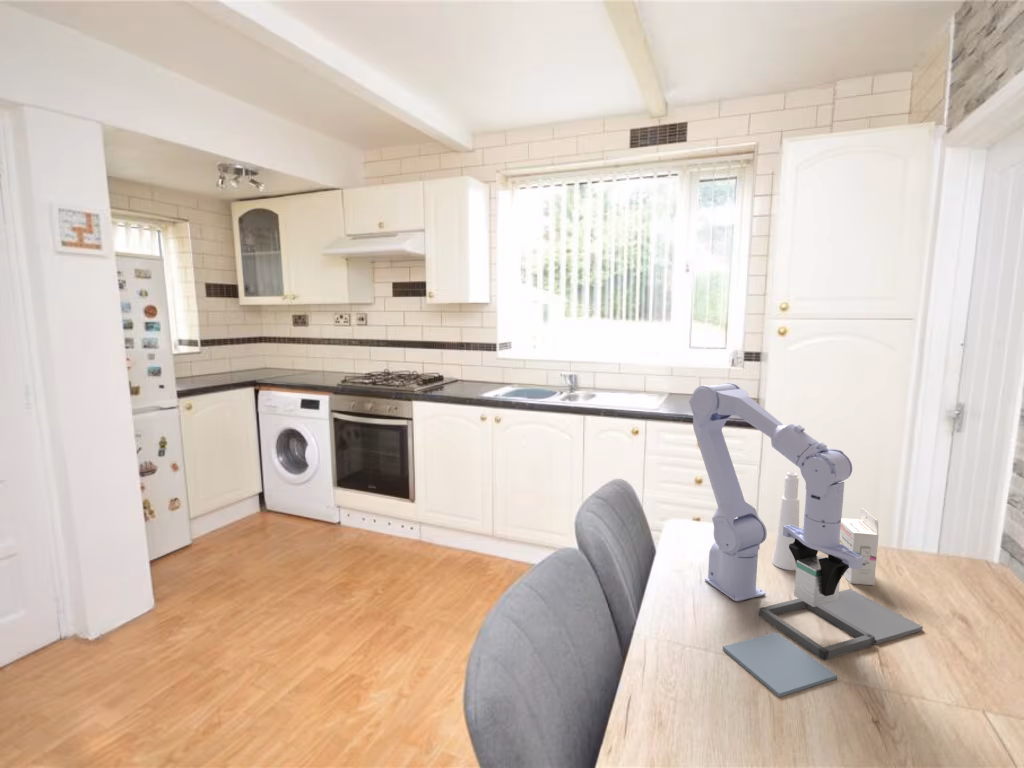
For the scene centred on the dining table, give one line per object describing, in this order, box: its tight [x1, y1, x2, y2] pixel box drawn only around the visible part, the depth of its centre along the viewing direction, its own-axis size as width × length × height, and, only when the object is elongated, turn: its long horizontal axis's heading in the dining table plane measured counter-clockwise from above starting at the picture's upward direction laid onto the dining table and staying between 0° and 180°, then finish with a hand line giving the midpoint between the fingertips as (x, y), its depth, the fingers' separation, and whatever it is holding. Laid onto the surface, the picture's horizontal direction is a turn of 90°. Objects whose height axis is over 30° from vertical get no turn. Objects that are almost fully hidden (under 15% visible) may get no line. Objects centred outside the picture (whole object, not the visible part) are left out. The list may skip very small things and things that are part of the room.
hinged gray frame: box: [758, 588, 924, 661], centre depth 97 cm, size 14×24×2 cm, turn 109°
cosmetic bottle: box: [771, 471, 800, 571], centre depth 119 cm, size 6×6×22 cm
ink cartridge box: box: [840, 507, 879, 586], centre depth 114 cm, size 9×5×15 cm, turn 168°
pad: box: [722, 632, 838, 698], centre depth 86 cm, size 12×12×1 cm
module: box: [794, 554, 841, 607], centre depth 94 cm, size 4×6×7 cm, turn 109°
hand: (816, 588), depth 94 cm, fingers closed on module, 4 cm apart
